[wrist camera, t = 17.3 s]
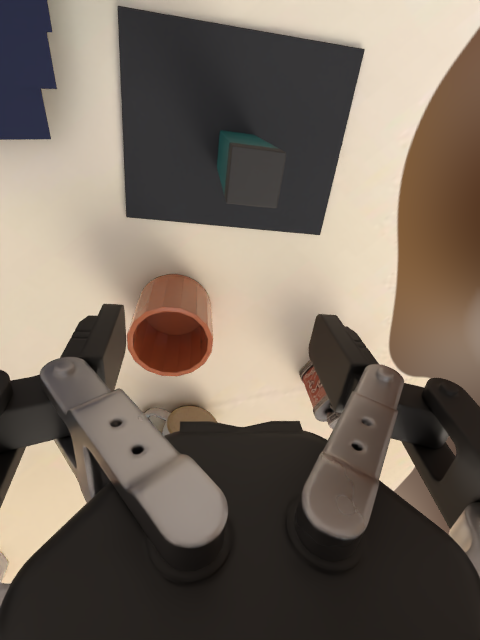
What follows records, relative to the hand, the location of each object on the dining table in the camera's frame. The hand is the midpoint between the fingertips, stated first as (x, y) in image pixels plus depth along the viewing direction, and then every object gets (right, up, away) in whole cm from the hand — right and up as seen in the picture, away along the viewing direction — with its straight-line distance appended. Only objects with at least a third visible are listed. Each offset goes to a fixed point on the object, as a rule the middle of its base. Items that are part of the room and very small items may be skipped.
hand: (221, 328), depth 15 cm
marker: (0, +16, +18) cm, 24 cm away
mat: (0, +17, +18) cm, 25 cm away
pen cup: (-7, +2, +26) cm, 27 cm away
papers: (-25, +29, +8) cm, 39 cm away
